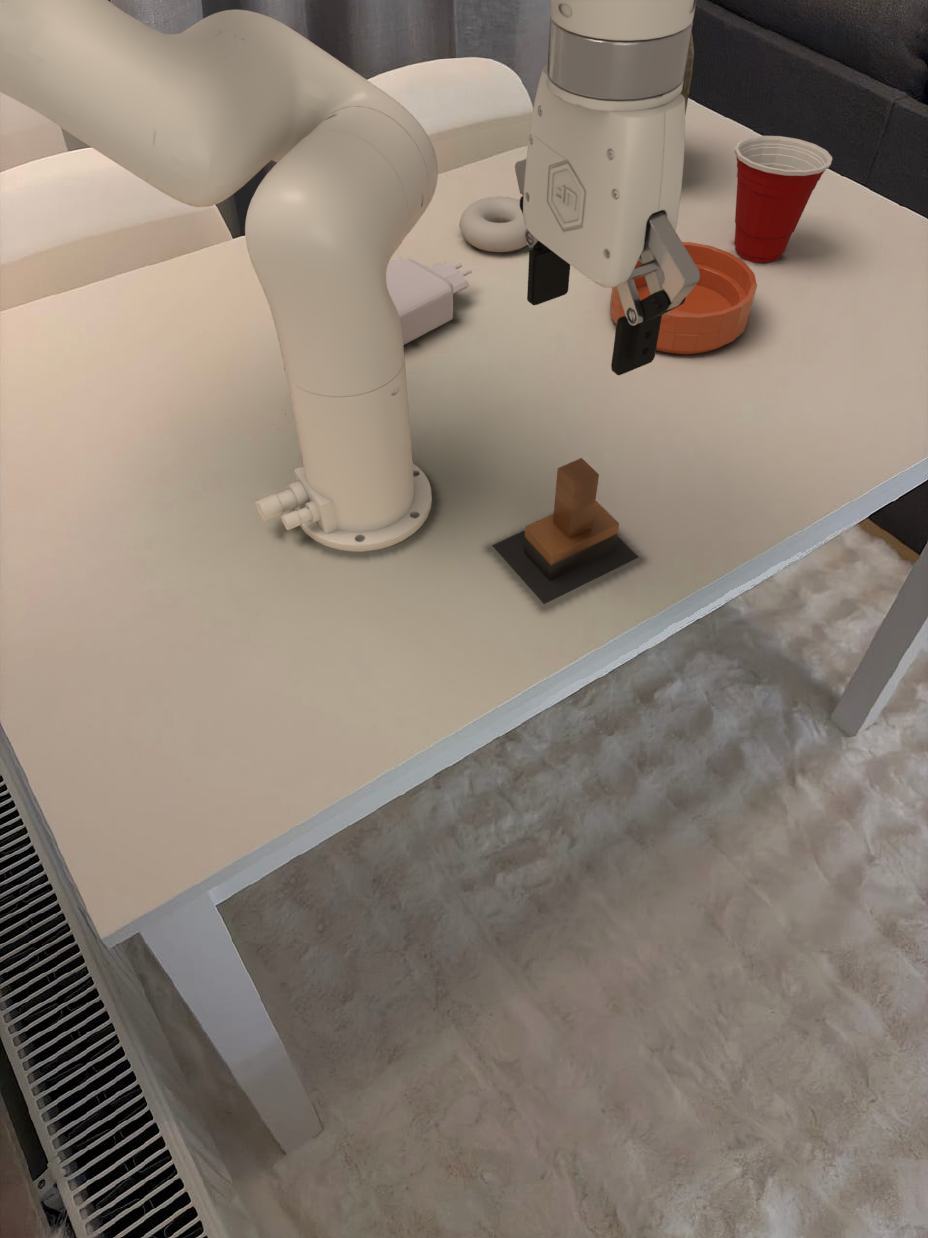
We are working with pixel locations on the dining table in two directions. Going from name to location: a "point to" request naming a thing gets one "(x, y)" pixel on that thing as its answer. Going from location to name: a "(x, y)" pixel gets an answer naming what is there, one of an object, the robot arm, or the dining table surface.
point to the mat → (567, 582)
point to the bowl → (703, 303)
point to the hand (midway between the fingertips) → (588, 331)
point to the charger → (423, 294)
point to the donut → (494, 224)
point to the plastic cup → (773, 192)
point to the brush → (571, 525)
